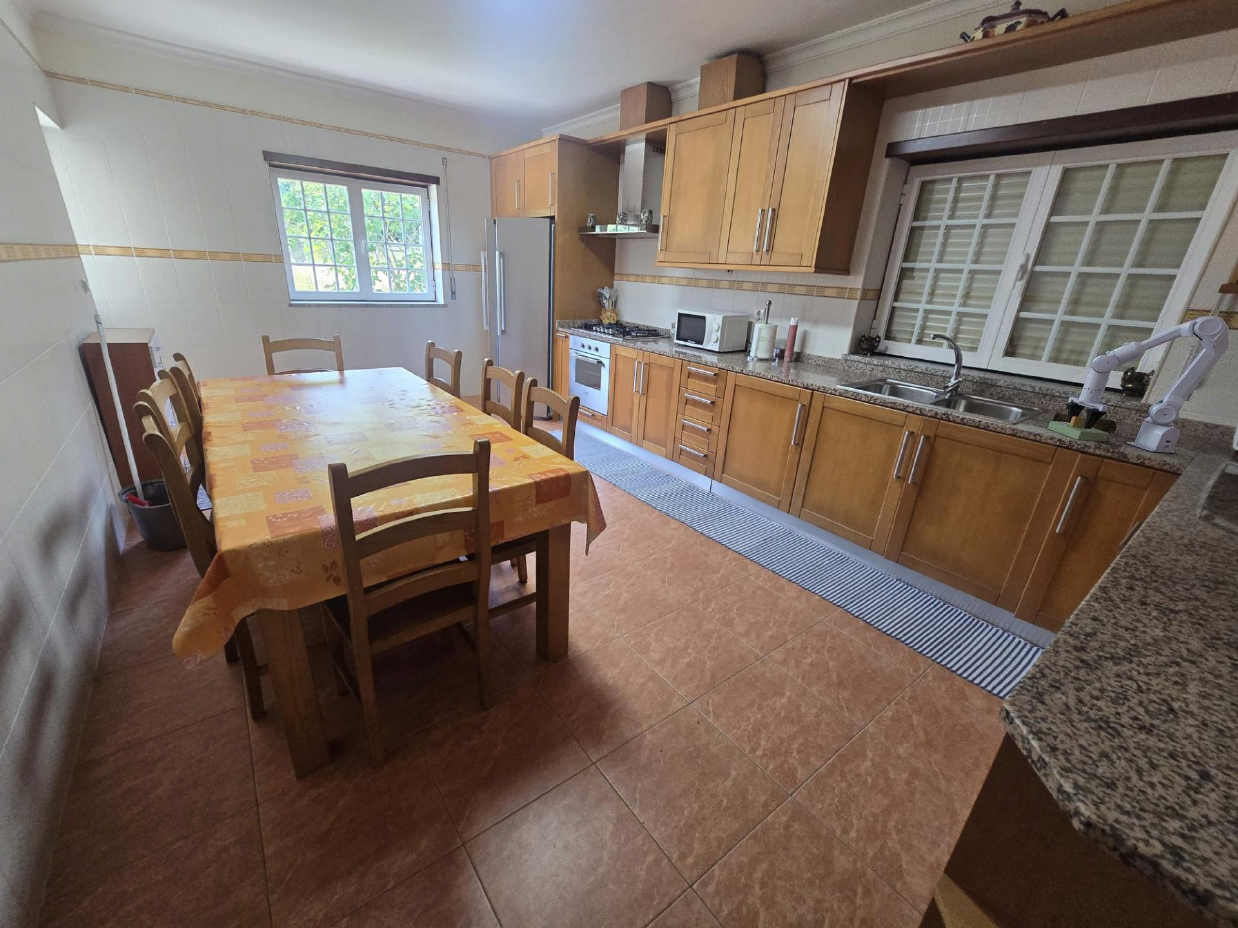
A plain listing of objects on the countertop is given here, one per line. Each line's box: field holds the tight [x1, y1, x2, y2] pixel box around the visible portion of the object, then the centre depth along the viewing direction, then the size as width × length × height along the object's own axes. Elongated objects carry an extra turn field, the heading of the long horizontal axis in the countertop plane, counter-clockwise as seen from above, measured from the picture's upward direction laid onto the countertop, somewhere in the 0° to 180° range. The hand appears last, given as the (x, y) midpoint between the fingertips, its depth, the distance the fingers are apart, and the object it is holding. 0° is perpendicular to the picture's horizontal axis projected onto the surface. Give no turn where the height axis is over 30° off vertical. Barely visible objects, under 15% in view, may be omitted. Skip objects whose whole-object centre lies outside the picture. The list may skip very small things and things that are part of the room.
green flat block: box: [1047, 420, 1110, 442], centre depth 185 cm, size 14×10×3 cm
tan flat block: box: [1069, 416, 1086, 428], centre depth 184 cm, size 6×1×4 cm, turn 88°
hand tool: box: [1052, 411, 1118, 433], centre depth 198 cm, size 19×4×5 cm, turn 37°
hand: (1079, 425), depth 184 cm, fingers open, 7 cm apart
